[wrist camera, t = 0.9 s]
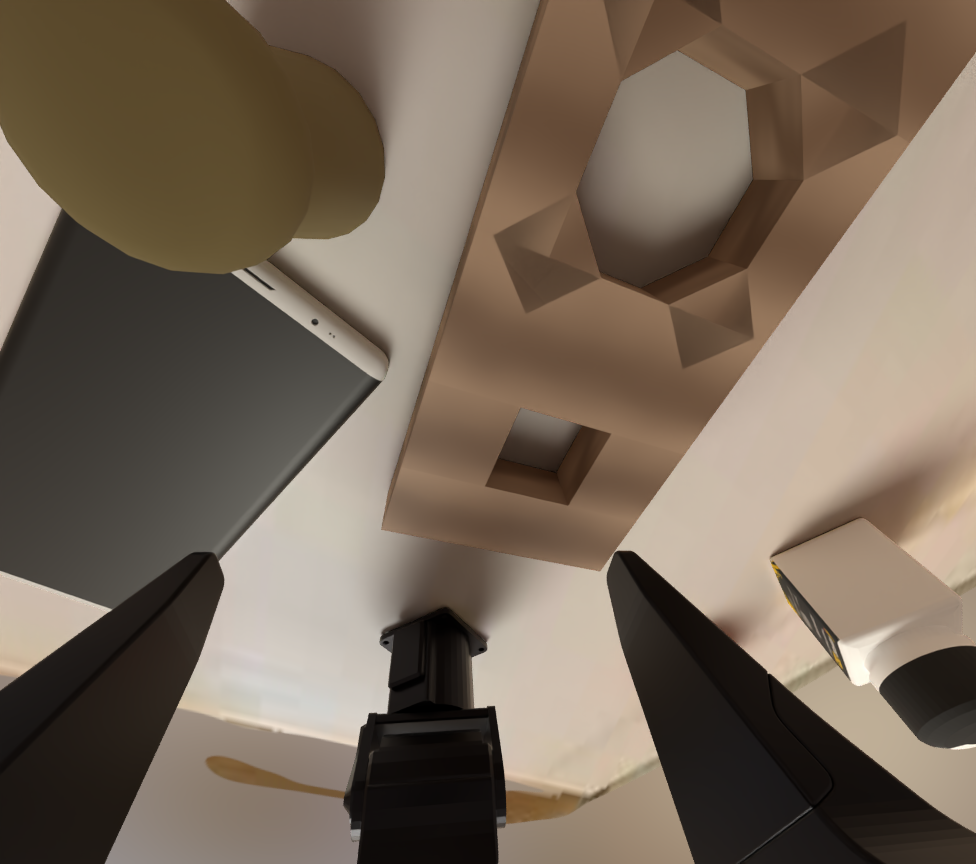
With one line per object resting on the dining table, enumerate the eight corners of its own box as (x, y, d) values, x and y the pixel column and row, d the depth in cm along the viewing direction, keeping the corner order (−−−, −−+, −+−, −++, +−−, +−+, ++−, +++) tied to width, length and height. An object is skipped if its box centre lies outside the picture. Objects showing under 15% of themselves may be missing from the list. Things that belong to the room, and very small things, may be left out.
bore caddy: (604, -207, 12) (645, -307, 10) (921, 28, 16) (1013, -1, 13) (387, 494, 25) (381, 529, 23) (586, 536, 29) (599, 571, 26)
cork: (350, 267, 18) (252, 361, 9) (204, 183, 16) (-113, 196, 7) (411, 125, 16) (363, 58, 7) (248, 5, 14) (-153, -334, 5)
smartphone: (-61, 527, 25) (-93, 549, 23) (117, 135, 16) (83, 131, 14) (169, 610, 30) (155, 632, 29) (397, 357, 21) (393, 371, 20)
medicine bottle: (766, 557, 32) (915, 735, 22) (862, 514, 30) (1072, 685, 20) (786, 601, 35) (922, 773, 25) (873, 565, 34) (1057, 733, 24)
